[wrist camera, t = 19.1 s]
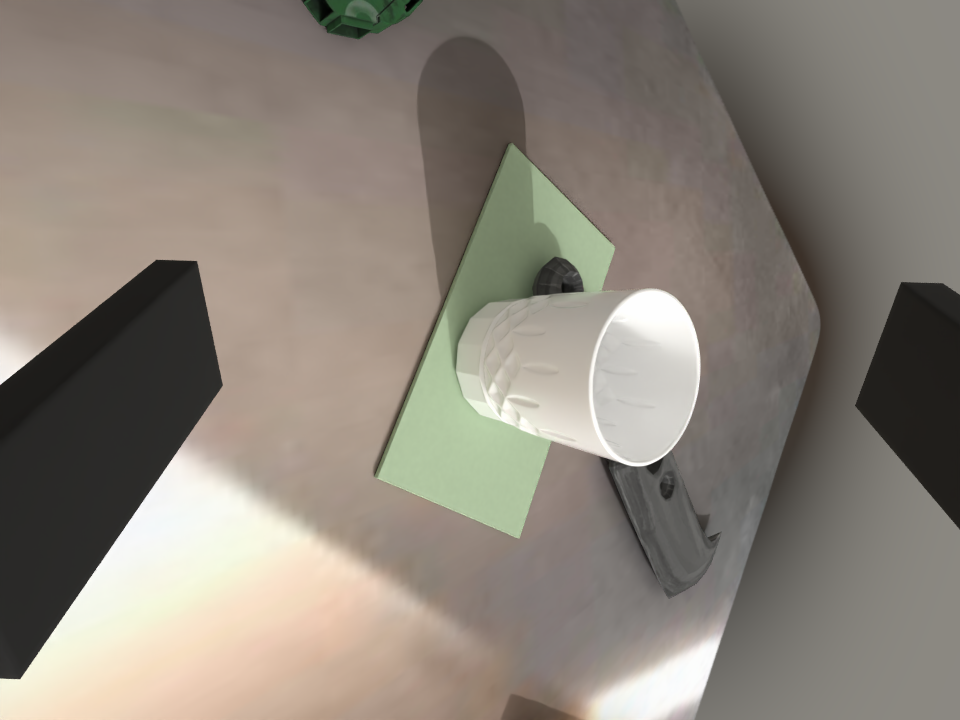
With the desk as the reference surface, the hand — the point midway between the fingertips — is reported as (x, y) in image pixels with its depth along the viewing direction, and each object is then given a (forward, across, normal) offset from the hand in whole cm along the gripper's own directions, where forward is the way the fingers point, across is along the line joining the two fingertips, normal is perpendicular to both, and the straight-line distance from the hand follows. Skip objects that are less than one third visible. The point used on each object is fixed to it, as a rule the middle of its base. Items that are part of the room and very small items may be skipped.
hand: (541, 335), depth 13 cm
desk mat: (+22, 0, -12) cm, 25 cm away
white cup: (+21, 0, -12) cm, 24 cm away
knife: (+26, +9, -21) cm, 35 cm away
